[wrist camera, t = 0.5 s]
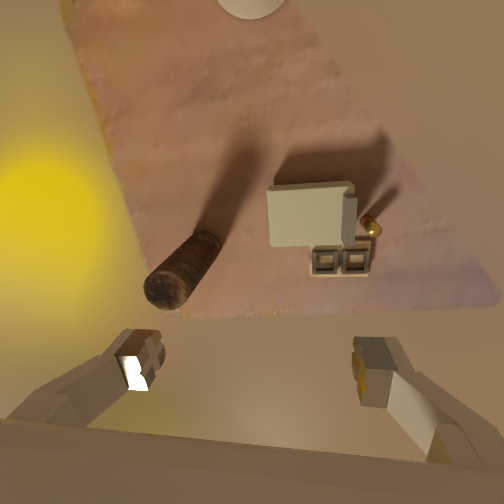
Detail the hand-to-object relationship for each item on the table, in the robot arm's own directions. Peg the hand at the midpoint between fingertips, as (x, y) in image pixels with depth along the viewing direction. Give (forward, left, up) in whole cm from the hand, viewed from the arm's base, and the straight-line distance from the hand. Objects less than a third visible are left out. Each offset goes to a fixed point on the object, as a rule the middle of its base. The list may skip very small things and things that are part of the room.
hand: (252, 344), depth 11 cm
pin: (+9, +16, -44) cm, 47 cm away
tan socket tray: (+17, +11, -44) cm, 48 cm away
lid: (+6, +5, -42) cm, 43 cm away
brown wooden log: (+13, -18, -44) cm, 49 cm away
